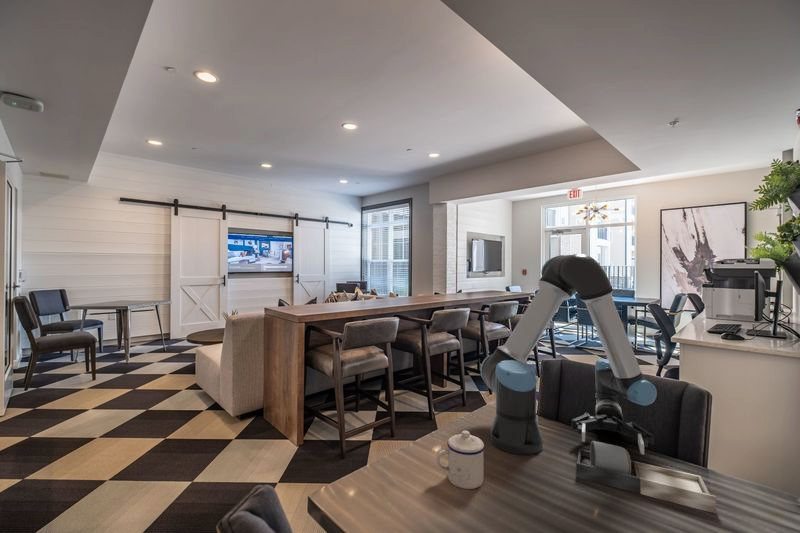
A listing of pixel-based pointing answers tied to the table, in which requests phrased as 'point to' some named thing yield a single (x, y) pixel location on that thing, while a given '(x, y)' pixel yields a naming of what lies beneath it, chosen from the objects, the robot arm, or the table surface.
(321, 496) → the table surface
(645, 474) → the box
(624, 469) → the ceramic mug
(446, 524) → the table surface
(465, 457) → the teacup with lid
